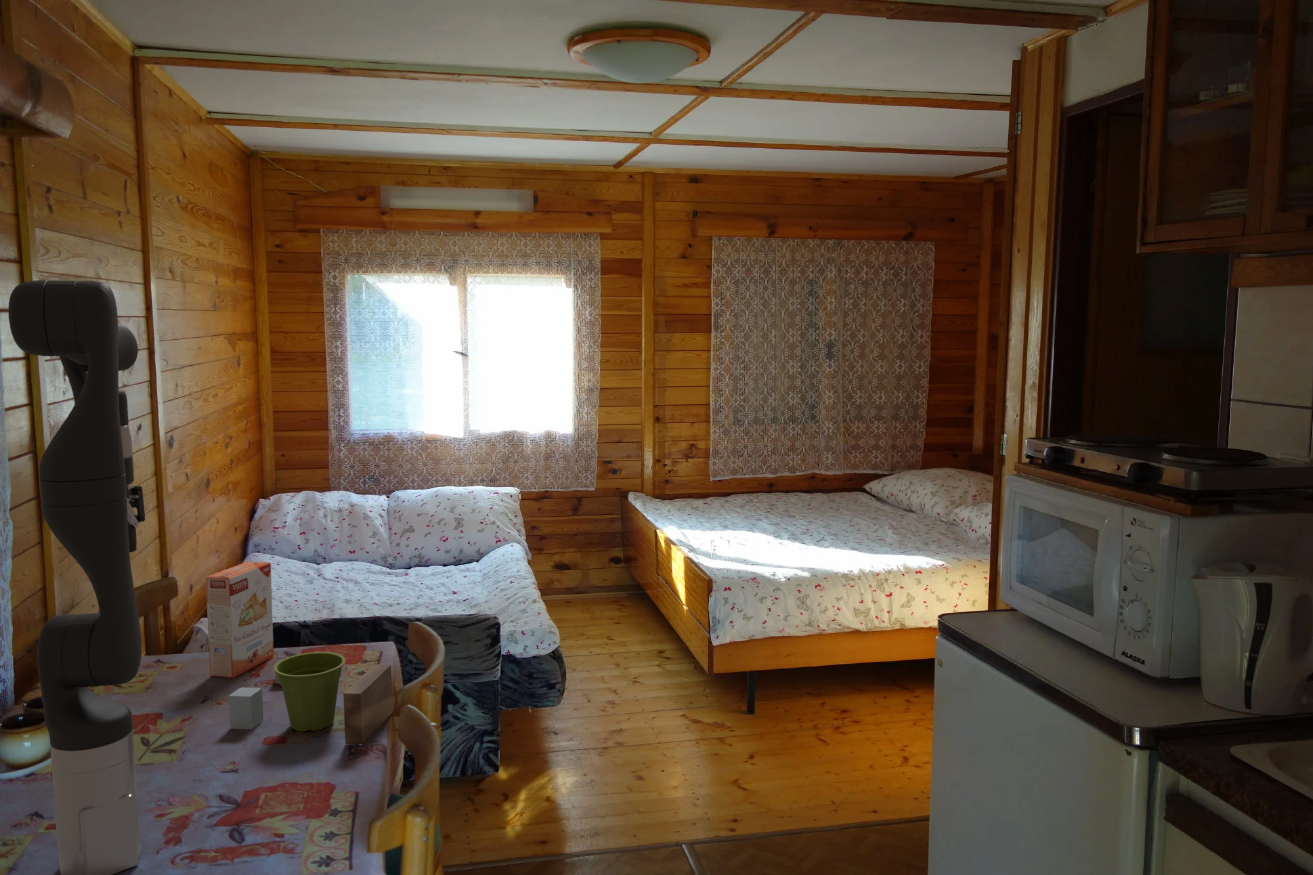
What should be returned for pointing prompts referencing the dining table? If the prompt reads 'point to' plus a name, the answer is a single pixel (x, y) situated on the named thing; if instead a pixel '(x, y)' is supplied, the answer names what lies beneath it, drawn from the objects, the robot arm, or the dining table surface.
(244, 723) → the grey upright block
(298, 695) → the plant pot
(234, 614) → the cracker box
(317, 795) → the dining table surface
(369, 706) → the rail
